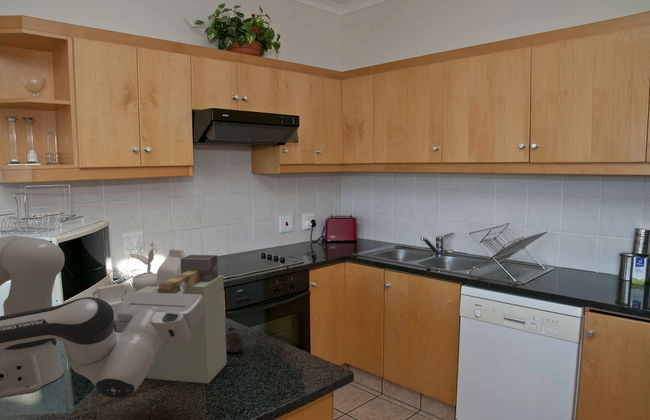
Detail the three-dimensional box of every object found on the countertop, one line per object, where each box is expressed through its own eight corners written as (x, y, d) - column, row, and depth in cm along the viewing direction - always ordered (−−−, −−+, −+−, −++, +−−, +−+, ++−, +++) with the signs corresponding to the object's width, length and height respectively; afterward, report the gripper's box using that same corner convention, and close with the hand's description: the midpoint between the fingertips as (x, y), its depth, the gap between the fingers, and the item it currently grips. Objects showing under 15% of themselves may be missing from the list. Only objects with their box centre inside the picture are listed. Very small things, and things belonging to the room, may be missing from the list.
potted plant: (167, 295, 206) (164, 239, 203) (155, 303, 194) (151, 243, 192) (140, 294, 207) (136, 239, 205) (126, 302, 196) (122, 243, 193)
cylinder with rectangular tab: (103, 322, 172) (101, 290, 170) (96, 316, 179) (94, 285, 177) (128, 317, 177) (126, 286, 176) (121, 311, 184) (119, 281, 183)
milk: (156, 319, 174) (153, 250, 171) (181, 311, 183) (178, 245, 181) (178, 325, 167) (174, 254, 165) (202, 316, 177) (199, 248, 174)
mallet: (180, 297, 110) (179, 272, 110) (150, 295, 112) (149, 271, 111) (218, 276, 131) (217, 255, 130) (191, 275, 133) (191, 254, 132)
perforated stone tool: (218, 340, 153) (218, 319, 152) (235, 337, 155) (234, 317, 154) (225, 357, 139) (224, 335, 138) (243, 354, 141) (242, 332, 140)
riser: (208, 383, 123) (204, 287, 120) (126, 376, 128) (120, 283, 125) (226, 364, 134) (223, 275, 132) (151, 358, 139) (146, 273, 136)
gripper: (113, 334, 109) (141, 291, 120) (195, 339, 105) (216, 294, 116) (103, 315, 105) (133, 273, 116) (187, 320, 101) (210, 275, 112)
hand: (175, 283), depth 116 cm, fingers closed on mallet, 3 cm apart
